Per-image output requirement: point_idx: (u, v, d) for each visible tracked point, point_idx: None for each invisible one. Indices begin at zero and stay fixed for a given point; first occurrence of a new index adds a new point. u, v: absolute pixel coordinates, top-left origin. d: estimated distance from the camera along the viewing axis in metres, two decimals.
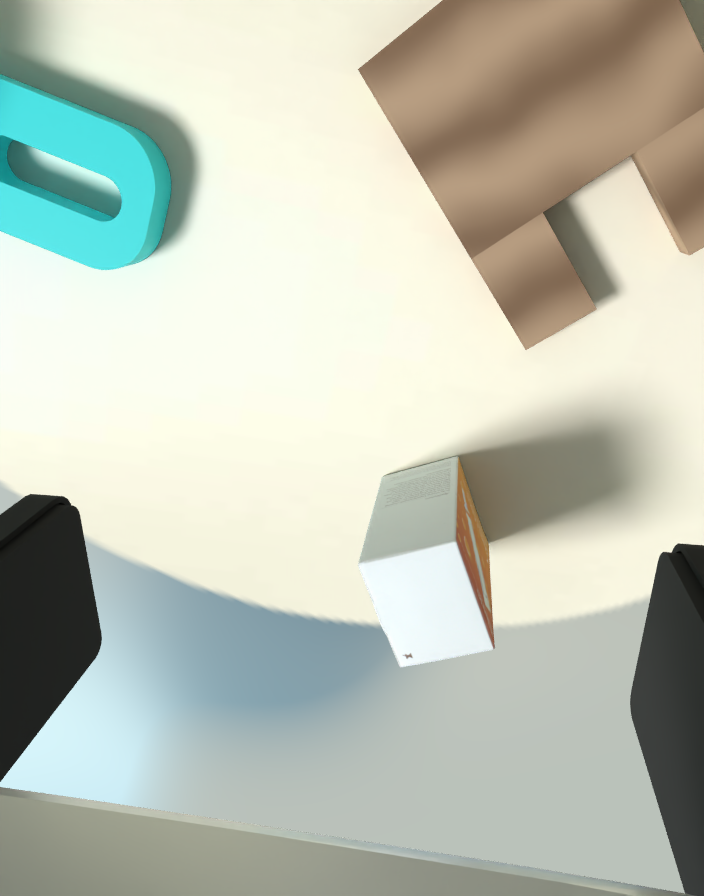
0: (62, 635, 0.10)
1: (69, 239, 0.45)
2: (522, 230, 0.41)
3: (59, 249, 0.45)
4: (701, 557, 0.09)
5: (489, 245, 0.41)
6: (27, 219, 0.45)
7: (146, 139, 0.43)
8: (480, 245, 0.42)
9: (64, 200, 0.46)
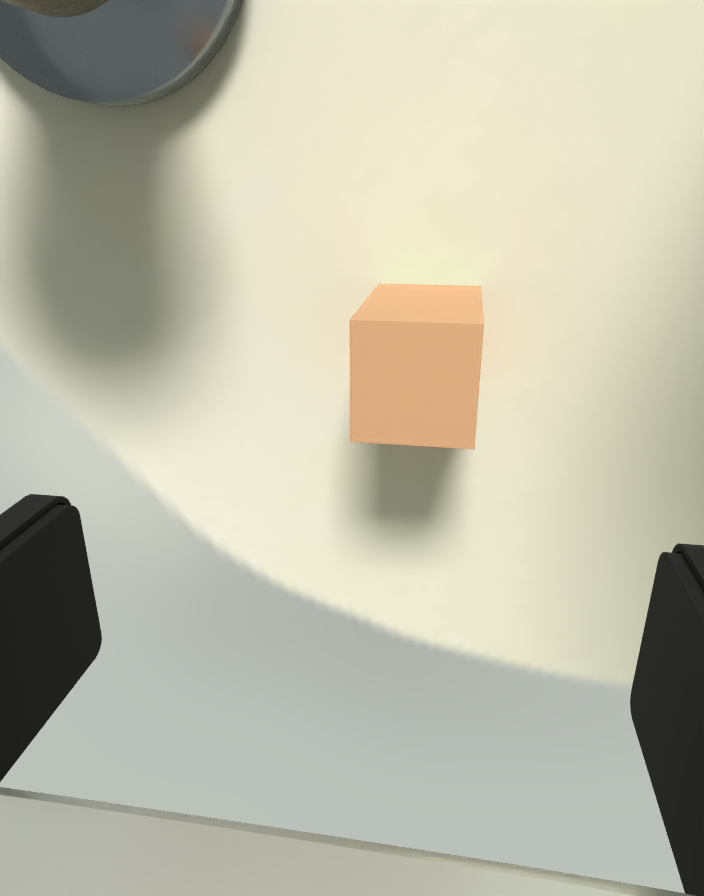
0: (62, 635, 0.10)
1: None
2: None
3: None
4: (701, 557, 0.09)
5: None
6: None
7: None
8: None
9: None
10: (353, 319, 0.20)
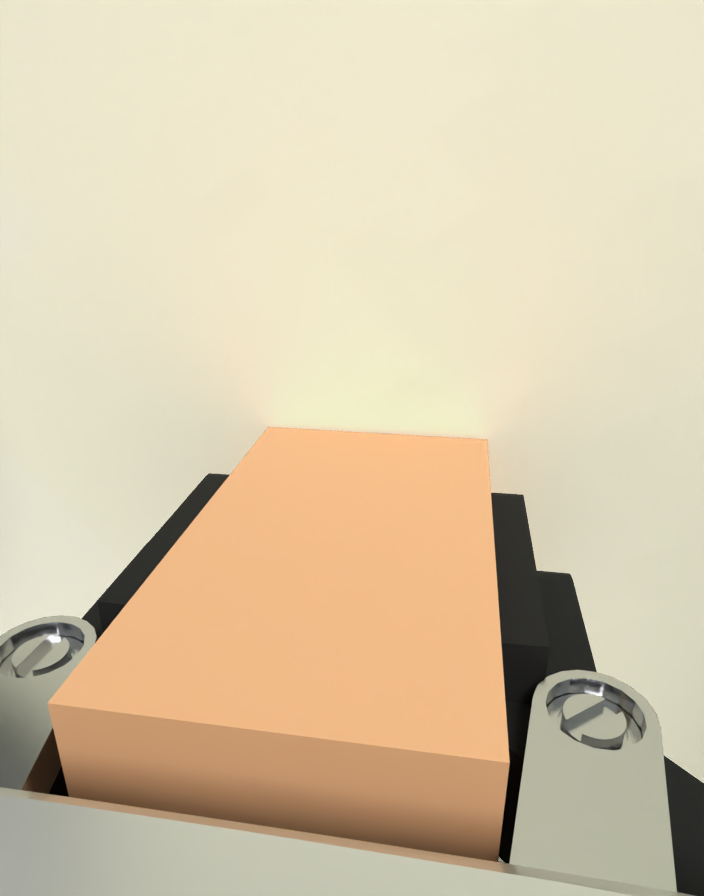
0: None
1: None
2: None
3: None
4: (502, 502, 0.10)
5: None
6: None
7: None
8: None
9: None
10: (62, 697, 0.06)
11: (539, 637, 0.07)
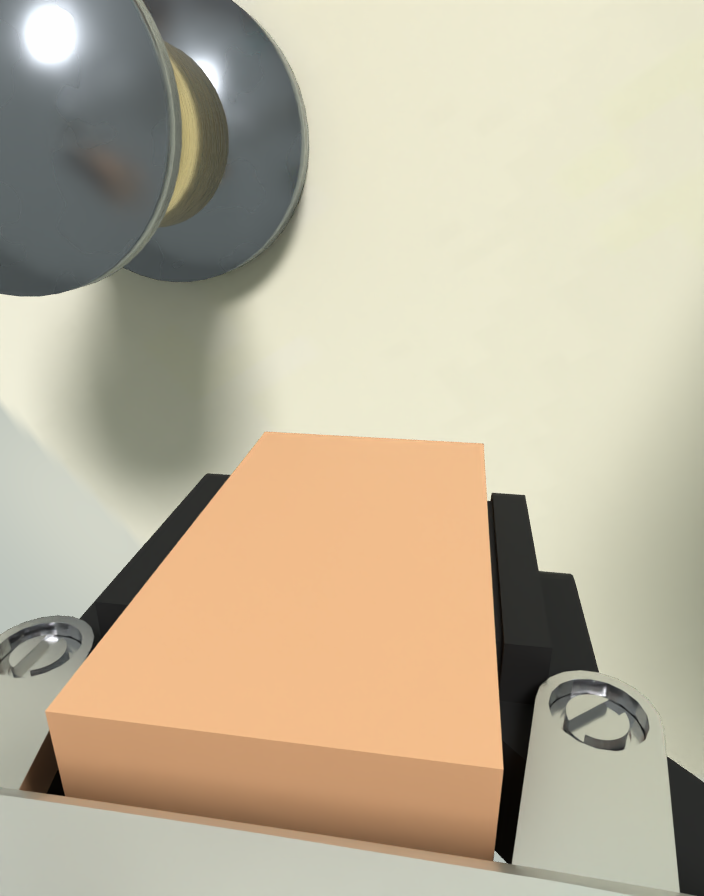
0: None
1: None
2: None
3: None
4: (503, 502, 0.10)
5: None
6: None
7: None
8: None
9: None
10: (60, 705, 0.06)
11: (542, 638, 0.07)
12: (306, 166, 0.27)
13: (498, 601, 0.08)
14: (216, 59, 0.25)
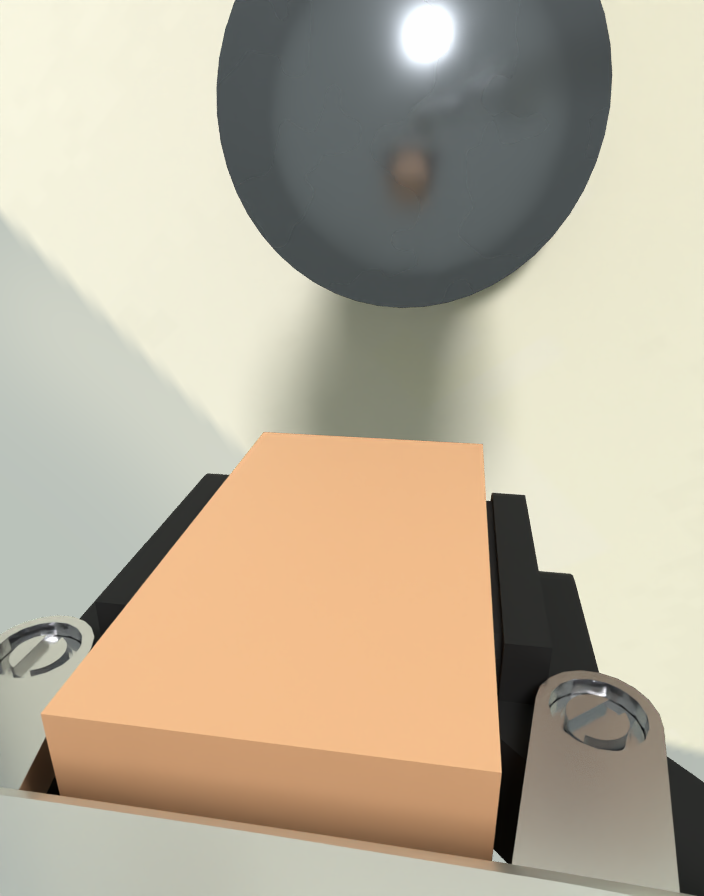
0: None
1: None
2: None
3: None
4: (503, 502, 0.10)
5: None
6: None
7: None
8: None
9: None
10: (56, 708, 0.06)
11: (541, 638, 0.07)
12: None
13: (498, 601, 0.08)
14: None
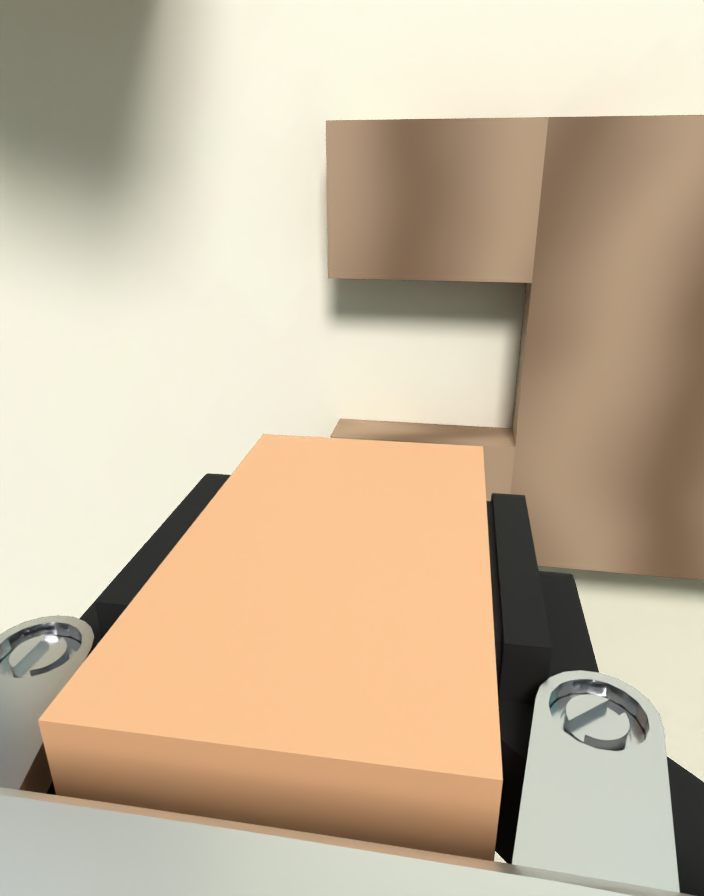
0: None
1: None
2: (528, 235, 0.22)
3: None
4: (503, 502, 0.10)
5: (546, 165, 0.21)
6: None
7: None
8: (558, 149, 0.21)
9: None
10: (53, 714, 0.06)
11: (541, 638, 0.07)
12: None
13: (498, 601, 0.08)
14: None
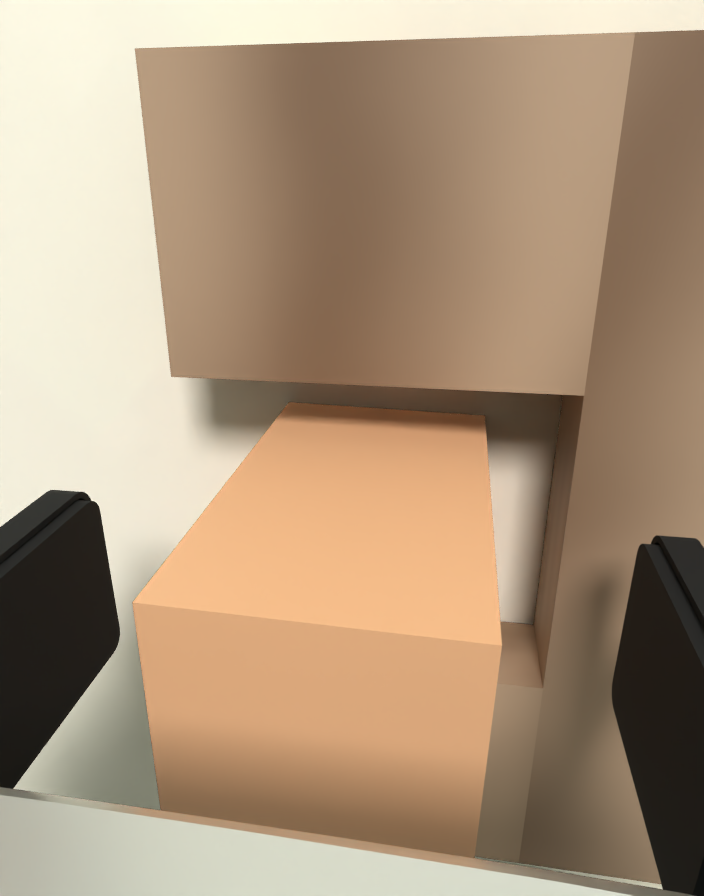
0: (83, 629, 0.11)
1: None
2: (580, 298, 0.10)
3: None
4: (677, 548, 0.09)
5: (626, 146, 0.09)
6: None
7: None
8: (653, 109, 0.09)
9: None
10: (144, 599, 0.07)
11: None
12: None
13: None
14: None
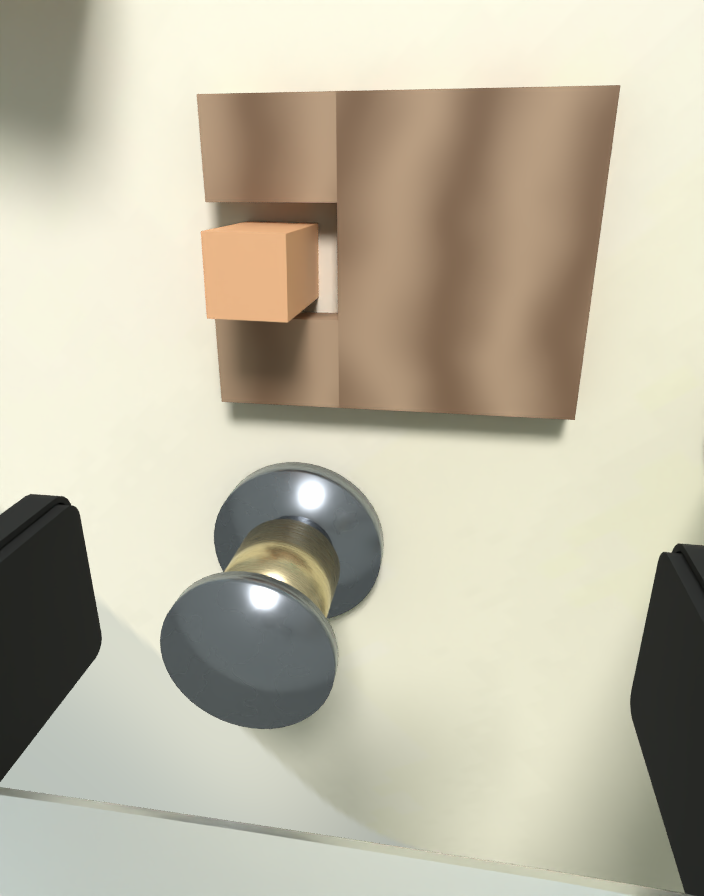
0: (62, 635, 0.10)
1: None
2: (331, 169, 0.33)
3: None
4: (701, 557, 0.09)
5: (338, 122, 0.32)
6: None
7: None
8: (344, 112, 0.32)
9: None
10: (203, 231, 0.30)
11: None
12: None
13: None
14: (329, 514, 0.41)
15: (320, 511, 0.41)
